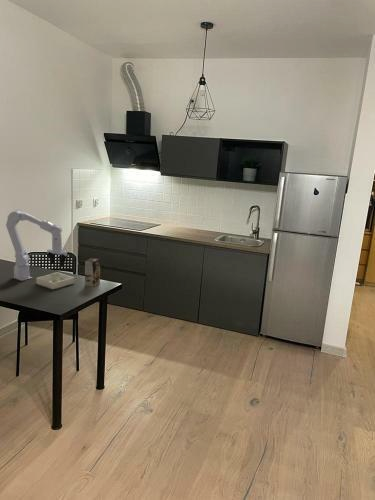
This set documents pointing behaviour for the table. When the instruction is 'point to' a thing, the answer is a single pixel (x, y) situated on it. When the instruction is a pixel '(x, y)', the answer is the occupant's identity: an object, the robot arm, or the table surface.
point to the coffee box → (92, 272)
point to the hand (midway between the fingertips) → (57, 264)
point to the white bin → (47, 282)
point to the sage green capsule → (55, 277)
